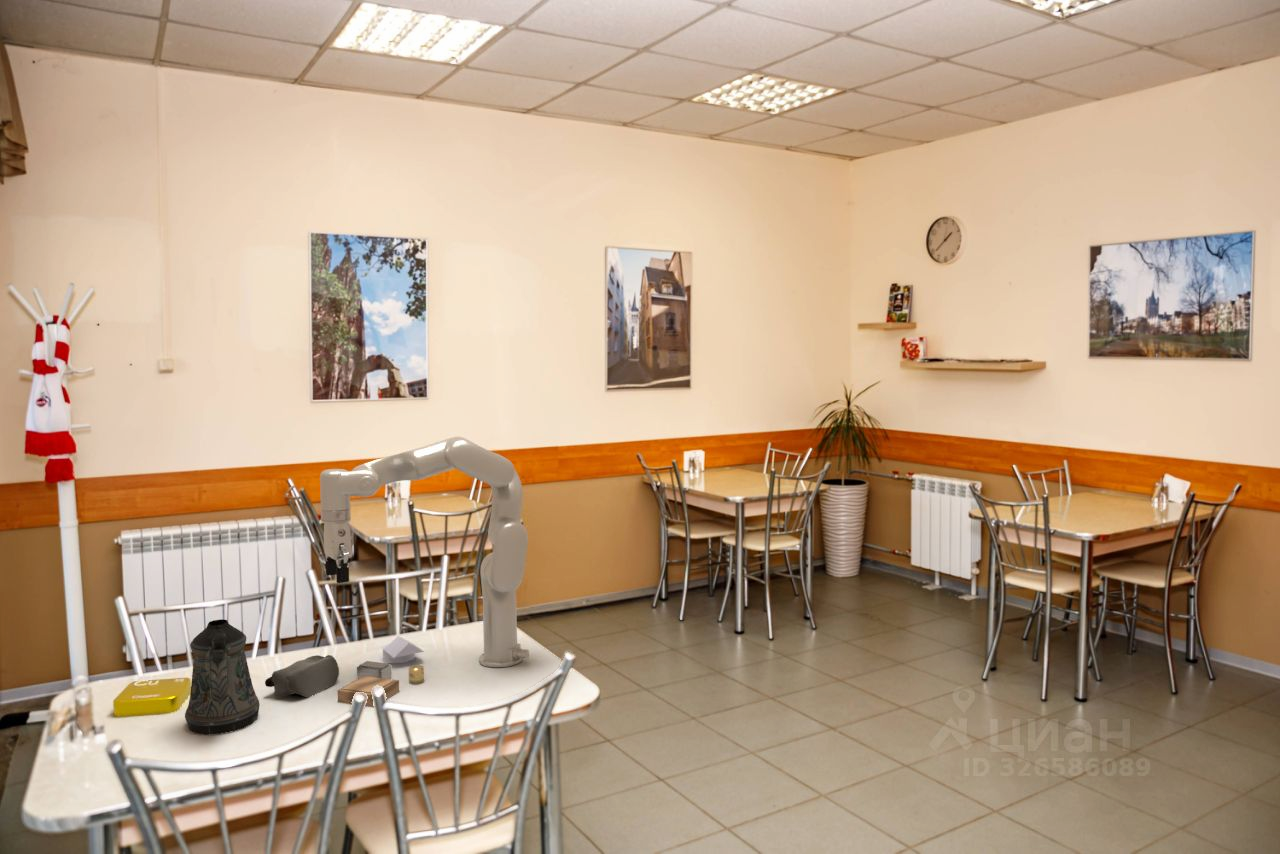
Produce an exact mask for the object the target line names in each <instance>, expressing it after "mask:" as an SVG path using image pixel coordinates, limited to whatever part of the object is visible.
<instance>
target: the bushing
mask: <svg viewBox="0 0 1280 854" xmlns="http://www.w3.org/2000/svg"><path fill="white" fill-rule="evenodd" d="M424 682H425V667H424V665H422V664H415V665H410V666H409V667H408V683H409V684H410V685H414V686H416V685H420V684H421V685H422V684H423V683H424Z"/></svg>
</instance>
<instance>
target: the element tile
mask: <svg viewBox="0 0 1280 854" xmlns="http://www.w3.org/2000/svg"><path fill="white" fill-rule="evenodd" d="M191 683H192V679H191V678H189V677H175V678H165V679H163V678H161V679H150V680H147V679H143V680H142V679H141V680H135V681H132V682H131V683H129V684H128V685H127V686H126V687H125V688H124V689H123V690H122V691H121V692H120V693H119V694H118V695H117V696H116V697H115V698H114V699H113V701H112V707H113V716H114V717H115V718H126V717H138V716H150V715H152V716H153V715H163V714H164V715H166V714H172V713H171V712H173V713H175V711H176V712H178V711H179V710H180V709H181V708H182V706H183V705H184V704H185V702H186V701H187V700H188V699H189V697H190V696H189V695H190V694H191ZM188 696H189V697H188ZM186 699H187V700H186ZM185 700H186V701H185ZM183 703H184V704H183ZM182 704H183V705H182ZM180 707H181V708H180ZM177 710H178V711H177Z"/></svg>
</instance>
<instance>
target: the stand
mask: <svg viewBox="0 0 1280 854" xmlns="http://www.w3.org/2000/svg"><path fill="white" fill-rule="evenodd" d="M376 685H379V686H382V687H383V688H384V690H385V693H386V697H387V699H386V700H388V699H389V698H391V697H392V696H394V695H396V694H398V692H400V680H399V679H385V678H377V677H369V676H362V677H360V678H359V679H357V678H356V679H355V680H354V681H351V682H350V683H348V684H346V685H345V686H342V687H341V688H339V689H337V702H338V703H344V704H351V702H352V699H353V696H354V694H355V693H356V692H364V693H366V694H367V696H368V699H367V703H366V707H372V708H373V707H374V706H373V699H372V694H371V690H372V688H373V687H374V686H376ZM374 708H375V707H374Z"/></svg>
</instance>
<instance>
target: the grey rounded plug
mask: <svg viewBox="0 0 1280 854" xmlns="http://www.w3.org/2000/svg"><path fill="white" fill-rule="evenodd" d="M339 675H340V668H339V665H338V662H337V660H336V658H335V657H334V656H333V655H329V654H328V655H326V656H322V655H317V654H316V655H312V656H311V655H310V656H308V657H306V658H304V659H301V660H297V661H295V662H293V663H292V664H290V665H288V666H287V667H284V668H281V669H278V670H275V671H273V672H272V674H271V676H270V677H268V678H266V679H265V682H264V685H265V686H266V687H267V688H268V687H269V688H274V689H273V690H274V692H273V693H274V695H275V696H276V697H284V696H287V695H288V696H289V695H293V694H297V695H300V696H302V697H306V698H311V697H313V696H315V694H316V695H317V693H318V694H320V693H321V692H322V691H325V690H326V689H327V688H329V687H331V686H333V685H334V684H336V682H337V680H338V678H339ZM312 695H313V696H312ZM310 696H311V697H310Z"/></svg>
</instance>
